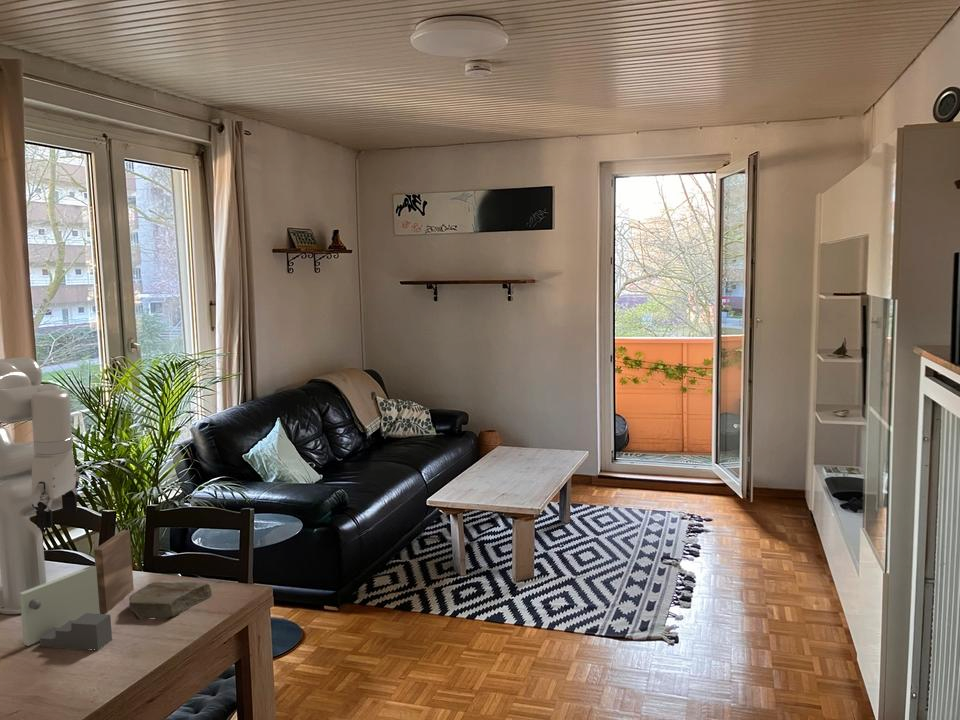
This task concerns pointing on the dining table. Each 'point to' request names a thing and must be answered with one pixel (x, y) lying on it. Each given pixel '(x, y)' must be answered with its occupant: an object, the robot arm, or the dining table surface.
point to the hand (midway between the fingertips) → (57, 519)
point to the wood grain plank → (114, 570)
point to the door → (58, 603)
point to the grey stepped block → (80, 633)
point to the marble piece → (168, 598)
